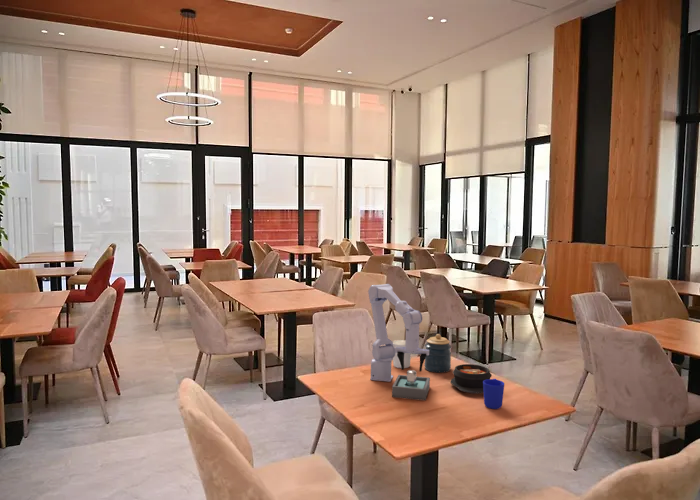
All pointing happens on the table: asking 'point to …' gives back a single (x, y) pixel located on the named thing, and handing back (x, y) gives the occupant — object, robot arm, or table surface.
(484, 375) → the casserole
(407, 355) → the candle holder
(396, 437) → the table surface
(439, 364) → the canister
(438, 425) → the table surface
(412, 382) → the peg
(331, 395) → the table surface
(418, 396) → the tray
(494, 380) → the mug
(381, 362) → the robot arm
